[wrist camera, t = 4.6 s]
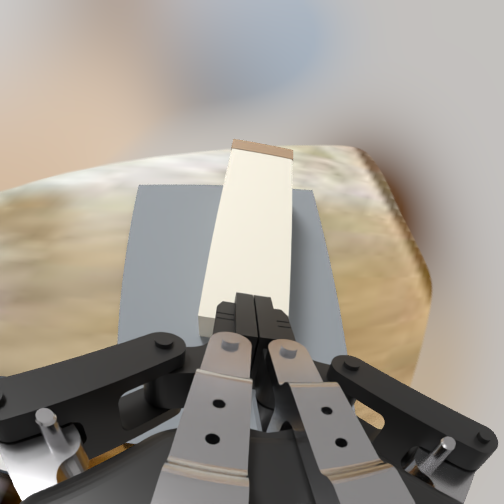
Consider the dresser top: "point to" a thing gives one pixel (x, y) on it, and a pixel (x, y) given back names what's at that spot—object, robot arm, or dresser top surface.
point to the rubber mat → (194, 268)
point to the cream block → (251, 231)
